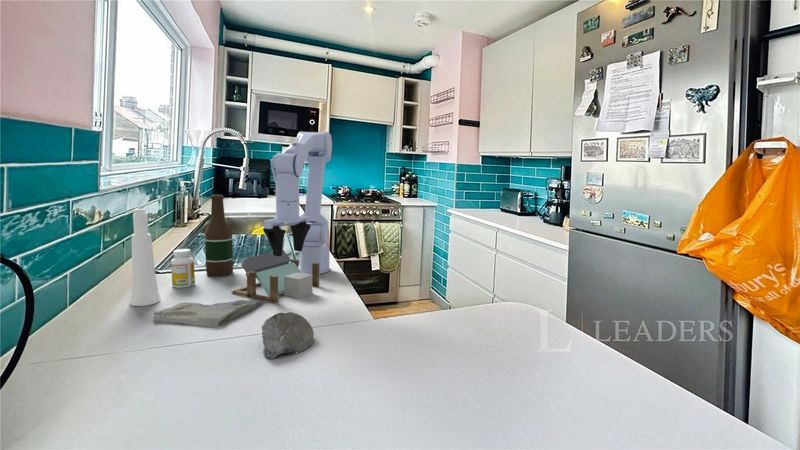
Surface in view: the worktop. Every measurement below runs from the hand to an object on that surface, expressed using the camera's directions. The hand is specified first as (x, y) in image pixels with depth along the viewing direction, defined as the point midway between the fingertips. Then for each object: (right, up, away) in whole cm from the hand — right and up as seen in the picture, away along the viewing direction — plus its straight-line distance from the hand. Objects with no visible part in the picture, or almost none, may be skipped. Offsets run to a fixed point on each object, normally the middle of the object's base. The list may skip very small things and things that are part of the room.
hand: (288, 253), depth 99 cm
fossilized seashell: (+8, -15, -29) cm, 33 cm away
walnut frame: (-4, -10, +3) cm, 11 cm away
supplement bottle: (-30, -9, +4) cm, 31 cm away
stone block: (+1, -8, +1) cm, 8 cm away
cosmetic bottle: (-31, -11, -9) cm, 34 cm away
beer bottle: (-26, -8, +17) cm, 32 cm away
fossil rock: (-13, -13, -14) cm, 23 cm away
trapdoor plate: (-5, -7, +3) cm, 9 cm away
